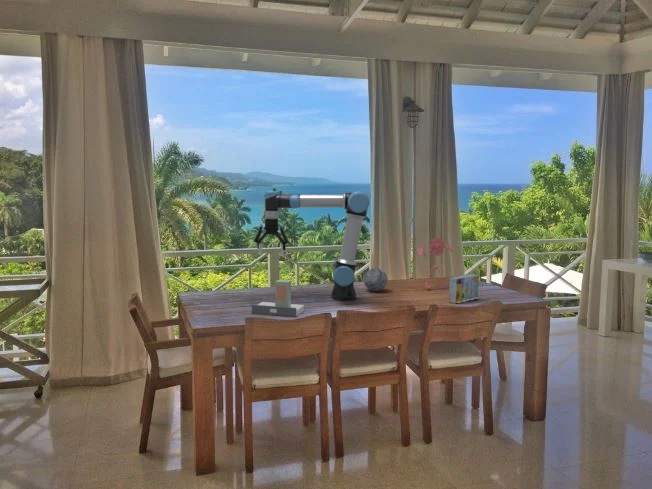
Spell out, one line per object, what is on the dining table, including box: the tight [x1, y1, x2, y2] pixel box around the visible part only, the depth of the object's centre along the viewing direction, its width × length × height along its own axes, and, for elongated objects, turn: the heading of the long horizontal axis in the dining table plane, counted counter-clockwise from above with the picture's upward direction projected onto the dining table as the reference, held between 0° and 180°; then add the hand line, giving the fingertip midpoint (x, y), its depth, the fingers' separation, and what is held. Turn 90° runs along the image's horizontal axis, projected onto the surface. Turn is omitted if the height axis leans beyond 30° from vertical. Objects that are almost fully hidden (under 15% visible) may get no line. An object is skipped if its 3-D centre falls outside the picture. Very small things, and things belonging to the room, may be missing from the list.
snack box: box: [448, 274, 480, 302], centre depth 313 cm, size 21×6×15 cm, turn 129°
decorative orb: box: [363, 267, 388, 292], centre depth 338 cm, size 15×14×15 cm
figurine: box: [416, 236, 454, 289], centre depth 343 cm, size 15×26×35 cm, turn 115°
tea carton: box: [274, 279, 292, 307], centre depth 276 cm, size 5×7×14 cm
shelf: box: [251, 301, 305, 318], centre depth 278 cm, size 24×16×4 cm, turn 75°
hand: (271, 255), depth 302 cm, fingers open, 13 cm apart
